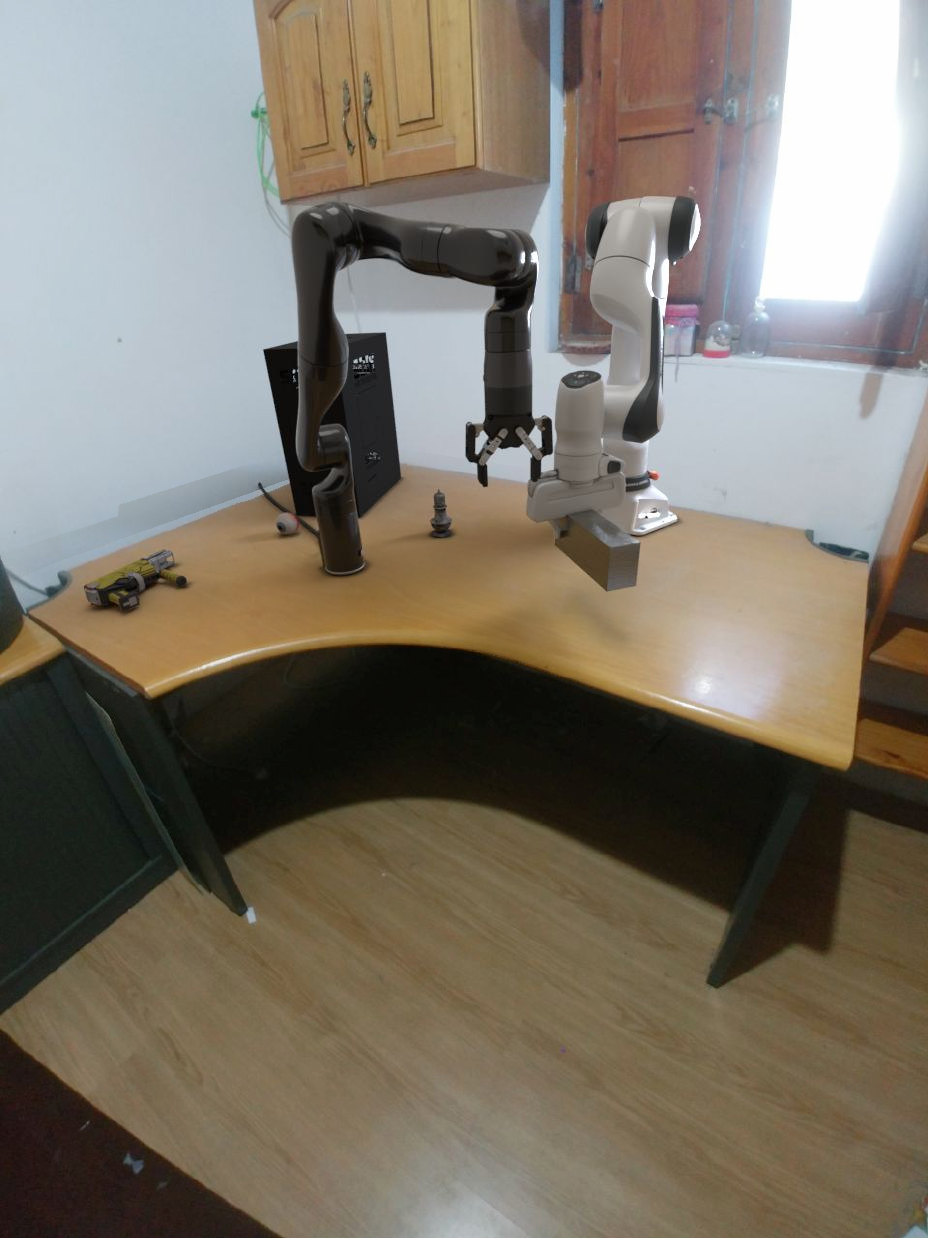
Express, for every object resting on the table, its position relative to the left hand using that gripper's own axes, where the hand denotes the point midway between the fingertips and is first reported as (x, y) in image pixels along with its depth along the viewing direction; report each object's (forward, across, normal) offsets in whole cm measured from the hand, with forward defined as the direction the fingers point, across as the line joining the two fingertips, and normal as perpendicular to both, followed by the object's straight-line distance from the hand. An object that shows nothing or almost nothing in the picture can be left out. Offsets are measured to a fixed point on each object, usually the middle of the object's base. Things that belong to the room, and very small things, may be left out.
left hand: (509, 483), depth 102 cm
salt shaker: (+29, -6, +52) cm, 60 cm away
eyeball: (+29, -47, +64) cm, 84 cm away
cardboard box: (+29, -30, +92) cm, 101 cm away
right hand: (+15, +16, +10) cm, 24 cm away
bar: (+18, +16, +2) cm, 25 cm away
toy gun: (+29, -76, +39) cm, 90 cm away
